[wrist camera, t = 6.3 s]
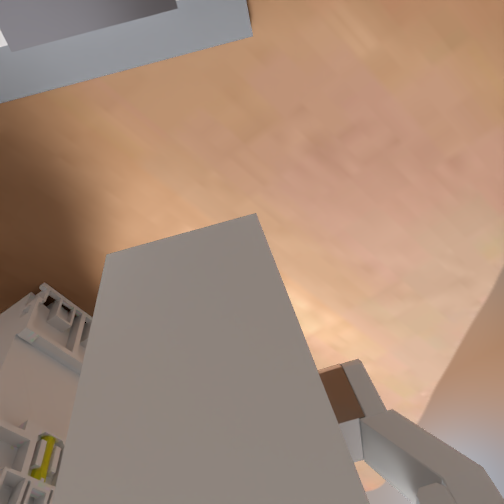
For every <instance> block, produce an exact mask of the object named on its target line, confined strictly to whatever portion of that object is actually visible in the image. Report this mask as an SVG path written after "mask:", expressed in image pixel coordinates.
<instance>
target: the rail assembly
mask: <svg viewBox="0 0 504 504" xmlns="http://www.w3.org/2000/svg"><path fill="white" fill-rule="evenodd" d="M252 36H253V34H252V28H251V23H250V18H249V13H248V7H247V2H246V0H0V103H4V102H7V101H11V100H15V99H19V98H22V97H26V96H30V95H34V94H37V93H41V92H45V91H49V90H52V89H56V88H60V87H64V86H68V85H71V84H75V83H79V82H83V81H86V80H90V79H94V78H98V77H101V76H105V75H109V74H113V73H116V72H120V71H124V70H128V69H131V68H135V67H139V66H143V65H146V64H150V63H154V62H158V61H161V60H165V59H169V58H173V57H176V56H180V55H184V54H188V53H191V52H195V51H199V50H203V49H207V48H210V47H214V46H218V45H222V44H225V43H229V42H233V41H237V40H240V39H244V38H248V37H252Z"/></svg>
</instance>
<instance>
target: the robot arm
mask: <svg viewBox="0 0 504 504" xmlns="http://www.w3.org/2000/svg"><path fill="white" fill-rule="evenodd" d="M318 373H319V375H320V378H321V381H322V383H323V386H324V388H325V391H326V393H327V396H328V398H329V401H330V404H331V406H332V409H333V411H334V414H335V416H336V419H337V421H338V424H339V427H340V429H341V432H342V434H343V437H344V439H345V442H346V444H347V447H348V450H349V452H350V455H351V457H352V460H353V462H357V461H361V460H364V461H365V462H366V463H367V464H368V465H369V466H370V467H371V468H373V469H374V470H375V471H376V472H377V473H378V474H379V475H381V476H382V477H383V478H384V479H385V480H386V481H387V482H389V483H390V484H391V485H392V486H393V487H394V488H395V489H397V490H398V491H399V492H400V493H401V494H402V495H404V497H406V498H407V499H408V500H409V501H410V502H412V504H504V499H503V498H502V496H501V494H500V492H499V491H498V489H497V488H496V487H495V485H494V483H493V482H492V480H491V479H490V477H489V476H488V474H487V473H486V471H485V470H484V468H483V467H482V466H480V465H478V464H477V463H476V462H474V461H472V460H471V459H469V458H468V457H466V456H465V455H463V454H461V453H460V452H458V451H457V450H455V449H454V448H452V447H451V446H449V445H447V444H446V443H444V442H443V441H441V440H440V439H438V438H437V437H435V436H433V435H432V434H430V433H429V432H427V431H426V430H424V429H423V428H421V427H419V426H418V425H416V424H415V423H413V422H412V421H410V420H409V419H407V418H405V417H404V416H402V415H401V414H399V413H398V412H396V411H394V410H393V409H392V410H388V411H387V410H386V408H385V406H384V404H383V402H382V400H381V398H380V396H379V394H378V392H377V390H376V389H375V387H374V385H373V383H372V381H371V379H370V377H369V375H368V373H367V371H366V369H365V367H364V366H363V364H362V362H361V361H360V360H359V359H355V360H352V361H349V362H345V363H342V364H337V365H334V366H330V367H327V368H324V369H320V370H318Z"/></svg>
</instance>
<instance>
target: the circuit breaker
mask: <svg viewBox="0 0 504 504" xmlns="http://www.w3.org/2000/svg"><path fill="white" fill-rule="evenodd" d="M39 289H41V290H42V291H41V292H39V293H38V294H36V295H35V294H33V293H32V292H30V293H29V294H28V295H26V296H25V297H23V298H22V299H21V300H19V301H18V302H17V303H15V304H14V305H12V306H11V307H10V308H8V309H7V310H6V311H4V312H3V313H1V314H0V504H52V501H53V497H54V492H55V488H56V483H57V479H58V474H59V469H60V465H61V460H62V456H63V451H64V447H65V442H66V437H67V433H68V428H69V424H70V419H71V415H72V410H73V405H74V401H75V396H76V392H77V387H78V383H79V378H80V373H81V369H82V364H83V360H84V355H85V351H86V346H87V341H88V337H89V332H90V328H91V323H92V319H93V318H92V317H91V316H90V315H88V314H87V313H86V312H84V311H83V310H82V309H80V308H79V307H78V306H76V305H75V304H73V303H72V302H71V301H69V300H68V299H67V298H65V297H64V296H63V295H61V294H60V293H59V292H57V291H56V290H54V289H53V288H52V287H50V286H49V285H48V284H46V283H45V282H44V283H43V284H41V285H40V287H39ZM48 296H51V297H52V298H53V299H55V301H54V302H52V303H51V304H49V305H48V306H45V305H44V304H43V303H44V302H45V301H46V299H47V297H48ZM62 304H63V305H65V306H66V307H67V308H69V309H70V311H69V312H68V311H67V310H65V309H64V308H63V307H61V306H62ZM75 315H77V316H76V317H74V316H75ZM85 322H86V323H85ZM84 323H85V324H84Z"/></svg>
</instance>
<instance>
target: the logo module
mask: <svg viewBox="0 0 504 504" xmlns="http://www.w3.org/2000/svg"><path fill="white" fill-rule="evenodd" d="M52 504H370V503H369V501H368V498H367V496H366V493H365V490H364V488H363V485H362V483H361V480H360V478H359V475H358V473H357V470H356V467H355V465H354V462H353V460H352V457H351V455H350V452H349V450H348V447H347V444H346V442H345V439H344V437H343V434H342V432H341V429H340V427H339V424H338V421H337V419H336V416H335V414H334V411H333V409H332V406H331V404H330V401H329V398H328V396H327V393H326V391H325V388H324V386H323V383H322V381H321V378H320V375H319V373H318V370H317V368H316V365H315V363H314V360H313V358H312V355H311V352H310V350H309V347H308V345H307V342H306V340H305V337H304V335H303V332H302V329H301V327H300V324H299V322H298V319H297V317H296V314H295V312H294V309H293V306H292V304H291V301H290V299H289V296H288V294H287V291H286V289H285V286H284V283H283V281H282V278H281V276H280V273H279V271H278V268H277V266H276V263H275V260H274V258H273V255H272V253H271V250H270V248H269V245H268V243H267V240H266V237H265V235H264V232H263V230H262V227H261V225H260V222H259V220H258V217H257V215H256V213H255V214H251V215H247V216H244V217H240V218H236V219H233V220H229V221H226V222H222V223H218V224H215V225H211V226H208V227H204V228H200V229H197V230H193V231H190V232H186V233H182V234H179V235H175V236H172V237H168V238H164V239H161V240H157V241H154V242H150V243H146V244H143V245H139V246H136V247H132V248H128V249H125V250H121V251H118V252H114V253H110V254H107V255H106V259H105V264H104V268H103V273H102V277H101V282H100V287H99V291H98V296H97V300H96V305H95V309H94V314H93V319H92V323H91V328H90V332H89V337H88V341H87V346H86V351H85V355H84V360H83V364H82V369H81V373H80V378H79V383H78V387H77V392H76V396H75V401H74V405H73V410H72V415H71V419H70V424H69V428H68V433H67V437H66V442H65V447H64V451H63V456H62V460H61V465H60V469H59V474H58V479H57V483H56V488H55V492H54V497H53V501H52Z"/></svg>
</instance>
